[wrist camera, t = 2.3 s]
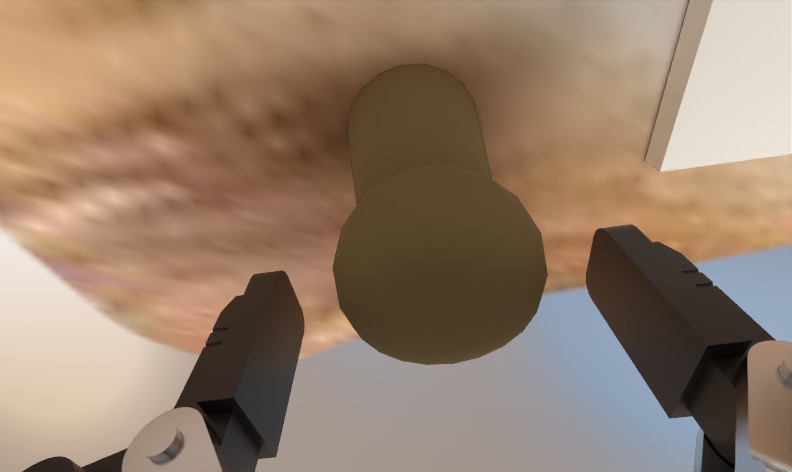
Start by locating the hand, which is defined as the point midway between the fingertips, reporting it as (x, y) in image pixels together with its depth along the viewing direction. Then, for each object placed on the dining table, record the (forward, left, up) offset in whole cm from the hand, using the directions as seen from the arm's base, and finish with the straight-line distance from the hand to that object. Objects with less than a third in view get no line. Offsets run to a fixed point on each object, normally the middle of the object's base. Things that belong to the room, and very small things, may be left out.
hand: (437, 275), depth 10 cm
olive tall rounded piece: (0, 0, -9) cm, 9 cm away
